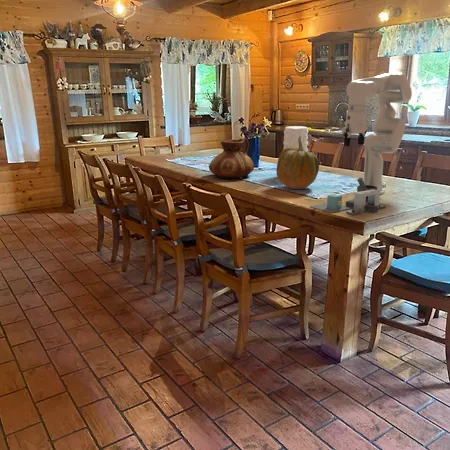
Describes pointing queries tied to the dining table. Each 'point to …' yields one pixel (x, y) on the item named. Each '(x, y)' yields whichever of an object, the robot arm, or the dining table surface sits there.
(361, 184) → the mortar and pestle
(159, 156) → the dining table surface
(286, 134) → the vase
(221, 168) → the jug
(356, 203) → the housing
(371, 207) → the lead
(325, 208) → the mat
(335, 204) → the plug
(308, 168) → the pumpkin
